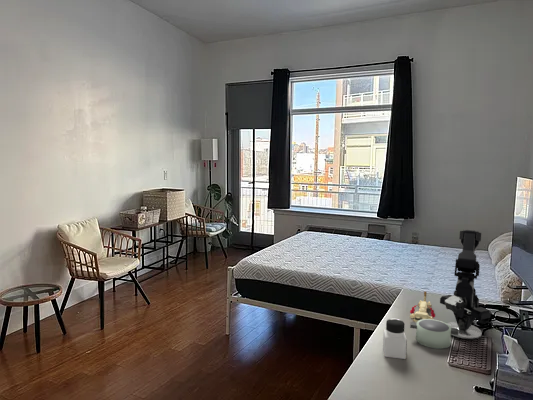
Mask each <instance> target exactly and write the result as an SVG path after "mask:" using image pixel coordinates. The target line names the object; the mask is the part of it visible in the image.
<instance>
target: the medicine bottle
mask: <svg viewBox="0 0 533 400" xmlns="http://www.w3.org/2000/svg"><path fill="white" fill-rule="evenodd" d="M385 326H386V327H385V328H384V329H383V335H382V336H383V337H382V340H383V341H382V349H383V354H384V355H383V356H384V357H385V358H394V359H400V360H401V359H402V360H403V359H404V360H405V359H407V347H408V343H407V342H408V338H407V336H406V333H405V322H404V321H403V320H401V319H398V318H394V317H393V318H388V319H387V320H386V325H385Z"/></svg>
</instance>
